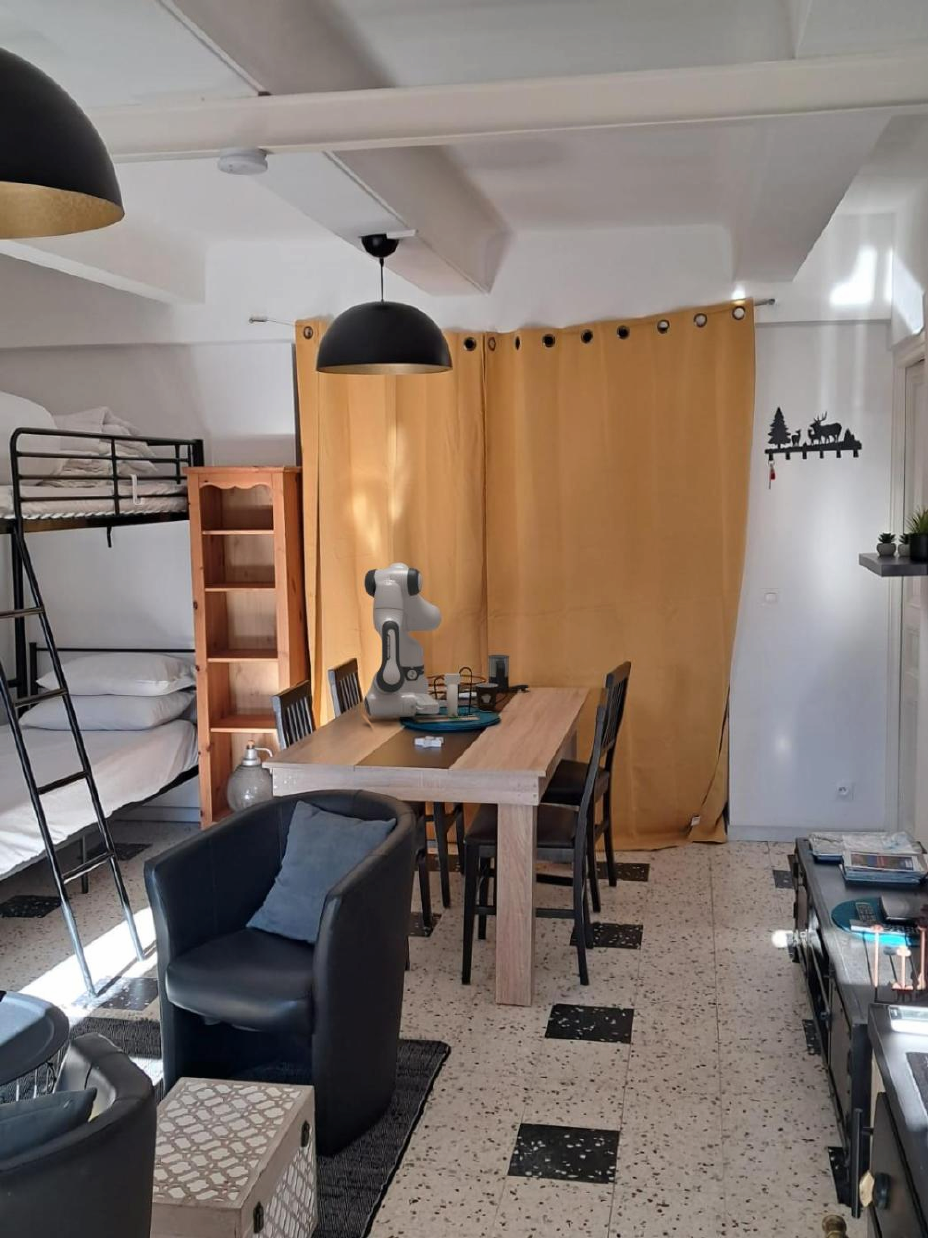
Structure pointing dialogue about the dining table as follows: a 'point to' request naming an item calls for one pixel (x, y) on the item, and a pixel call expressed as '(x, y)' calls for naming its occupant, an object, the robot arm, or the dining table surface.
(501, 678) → the milk frother
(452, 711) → the peg
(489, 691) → the coffee mug
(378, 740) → the dining table surface
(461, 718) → the tuner board
